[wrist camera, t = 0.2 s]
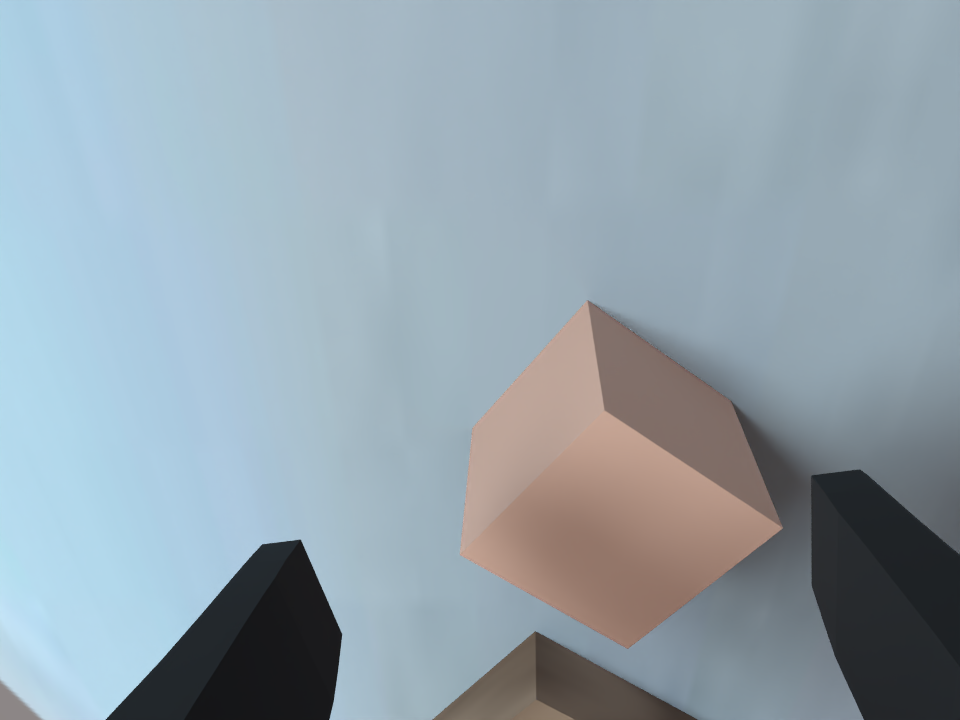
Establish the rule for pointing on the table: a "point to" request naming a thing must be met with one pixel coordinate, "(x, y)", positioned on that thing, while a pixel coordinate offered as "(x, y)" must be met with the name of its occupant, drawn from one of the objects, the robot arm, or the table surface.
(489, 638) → the table surface
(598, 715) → the walnut base block
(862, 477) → the robot arm
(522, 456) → the terracotta cube
